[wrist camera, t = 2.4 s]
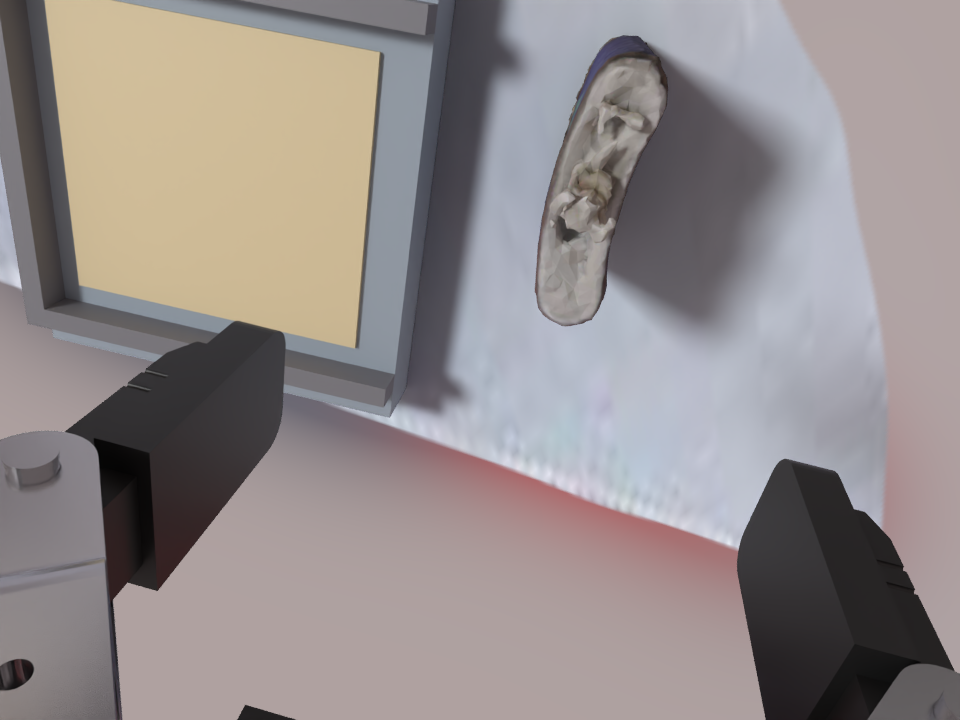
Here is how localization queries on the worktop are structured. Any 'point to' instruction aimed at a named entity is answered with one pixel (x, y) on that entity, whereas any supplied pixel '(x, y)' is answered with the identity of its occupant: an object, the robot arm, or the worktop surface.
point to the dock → (227, 176)
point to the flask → (596, 176)
